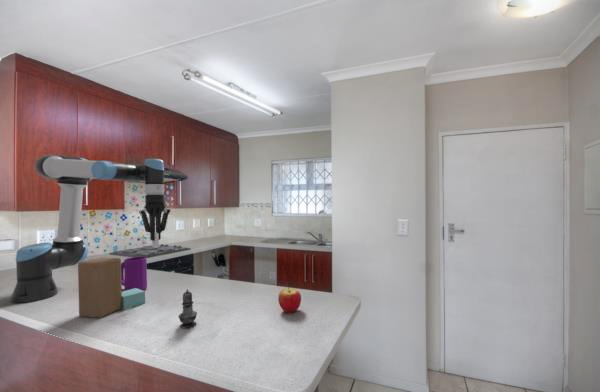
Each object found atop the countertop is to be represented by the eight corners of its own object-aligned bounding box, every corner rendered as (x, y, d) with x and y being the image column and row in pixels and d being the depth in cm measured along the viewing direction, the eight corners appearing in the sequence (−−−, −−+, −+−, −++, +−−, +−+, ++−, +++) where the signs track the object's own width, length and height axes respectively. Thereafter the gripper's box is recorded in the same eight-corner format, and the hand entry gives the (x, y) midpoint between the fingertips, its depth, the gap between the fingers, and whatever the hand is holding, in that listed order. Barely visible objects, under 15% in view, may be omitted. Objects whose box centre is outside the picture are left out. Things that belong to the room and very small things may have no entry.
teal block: (115, 305, 114) (114, 293, 114) (136, 299, 121) (135, 288, 121) (123, 310, 110) (123, 297, 110) (145, 303, 116) (144, 291, 116)
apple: (290, 304, 110) (289, 279, 110) (306, 310, 104) (305, 283, 104) (274, 311, 104) (273, 284, 104) (289, 317, 98) (288, 288, 98)
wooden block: (99, 319, 101) (98, 263, 101) (77, 317, 104) (76, 262, 104) (123, 308, 111) (122, 257, 111) (103, 306, 113) (101, 256, 113)
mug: (134, 294, 127) (133, 261, 127) (110, 291, 133) (109, 259, 133) (151, 288, 135) (151, 256, 135) (128, 285, 141) (128, 255, 141)
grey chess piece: (186, 331, 90) (185, 293, 90) (174, 326, 93) (173, 290, 93) (201, 323, 95) (200, 288, 95) (190, 320, 98) (189, 285, 98)
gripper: (143, 194, 118) (144, 250, 118) (173, 194, 128) (174, 246, 128) (135, 194, 122) (136, 249, 122) (165, 194, 133) (166, 244, 132)
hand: (155, 247), depth 125 cm, fingers closed
